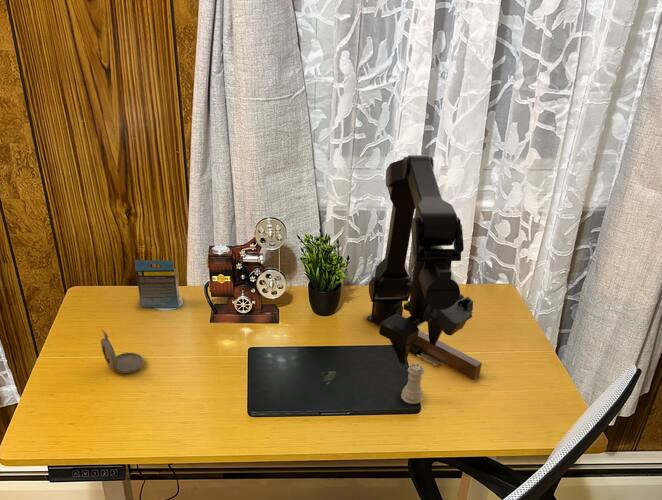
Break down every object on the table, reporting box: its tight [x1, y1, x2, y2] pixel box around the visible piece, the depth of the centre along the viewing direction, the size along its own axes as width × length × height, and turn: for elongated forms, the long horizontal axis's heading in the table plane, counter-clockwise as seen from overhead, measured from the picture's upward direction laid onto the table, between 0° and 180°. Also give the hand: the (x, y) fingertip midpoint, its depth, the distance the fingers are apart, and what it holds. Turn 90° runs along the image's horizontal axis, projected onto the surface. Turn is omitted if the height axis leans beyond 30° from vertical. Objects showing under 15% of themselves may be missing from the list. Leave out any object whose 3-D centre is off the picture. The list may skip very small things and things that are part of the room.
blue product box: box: [133, 259, 180, 309], centre depth 174 cm, size 9×4×12 cm, turn 93°
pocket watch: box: [100, 328, 144, 374], centre depth 156 cm, size 8×8×10 cm
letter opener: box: [409, 344, 441, 367], centre depth 165 cm, size 11×2×1 cm, turn 45°
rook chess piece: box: [400, 362, 425, 405], centre depth 151 cm, size 4×4×8 cm
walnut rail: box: [413, 329, 483, 380], centre depth 163 cm, size 20×2×4 cm, turn 45°
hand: (417, 353), depth 143 cm, fingers open, 9 cm apart
